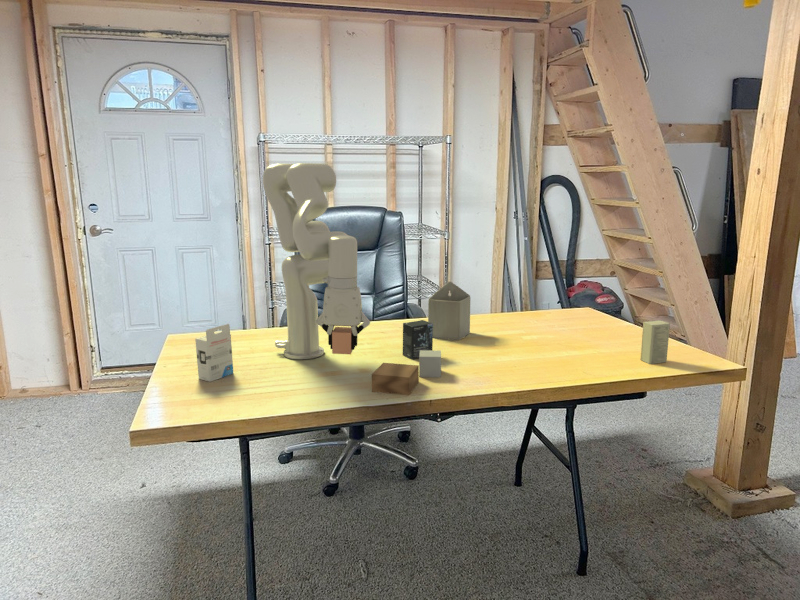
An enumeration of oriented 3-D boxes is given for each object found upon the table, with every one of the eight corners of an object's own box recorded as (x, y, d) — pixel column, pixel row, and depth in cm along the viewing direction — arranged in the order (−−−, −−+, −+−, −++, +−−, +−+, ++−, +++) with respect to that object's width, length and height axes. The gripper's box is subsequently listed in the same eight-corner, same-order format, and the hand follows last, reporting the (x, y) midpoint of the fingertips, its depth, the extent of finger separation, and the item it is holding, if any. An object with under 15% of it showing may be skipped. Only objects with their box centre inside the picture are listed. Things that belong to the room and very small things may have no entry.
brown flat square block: (372, 392, 146) (371, 374, 145) (383, 379, 156) (383, 362, 155) (409, 396, 143) (409, 377, 142) (418, 383, 153) (418, 365, 152)
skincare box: (657, 358, 172) (660, 319, 170) (667, 362, 168) (671, 323, 166) (639, 360, 171) (642, 321, 168) (649, 364, 167) (652, 324, 164)
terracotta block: (332, 353, 151) (332, 332, 150) (335, 347, 156) (335, 326, 155) (350, 354, 151) (350, 333, 150) (353, 348, 156) (353, 327, 154)
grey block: (419, 377, 157) (419, 356, 156) (419, 370, 163) (419, 350, 162) (440, 377, 157) (441, 356, 155) (440, 370, 162) (440, 350, 161)
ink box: (222, 370, 163) (218, 321, 160) (234, 373, 161) (230, 323, 158) (197, 379, 156) (193, 327, 153) (209, 382, 153) (205, 329, 150)
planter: (437, 342, 191) (437, 286, 187) (427, 336, 198) (428, 282, 194) (479, 337, 197) (480, 283, 193) (469, 332, 204) (470, 279, 200)
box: (412, 360, 172) (412, 326, 170) (402, 355, 177) (402, 322, 175) (433, 355, 176) (433, 322, 174) (422, 351, 181) (422, 319, 179)
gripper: (307, 284, 146) (309, 351, 150) (373, 287, 145) (372, 353, 149) (313, 278, 153) (314, 342, 157) (376, 280, 152) (375, 344, 157)
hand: (342, 347), depth 153 cm, fingers closed on terracotta block, 5 cm apart
